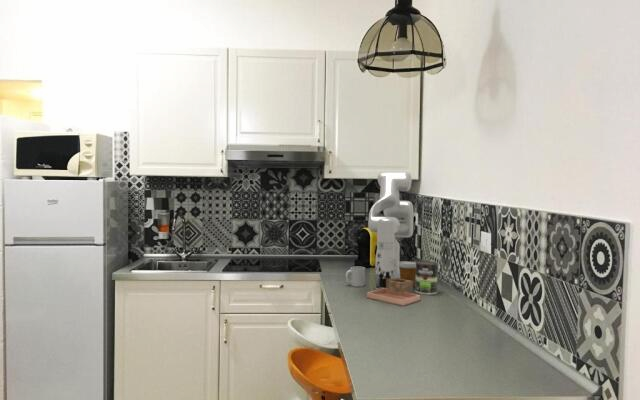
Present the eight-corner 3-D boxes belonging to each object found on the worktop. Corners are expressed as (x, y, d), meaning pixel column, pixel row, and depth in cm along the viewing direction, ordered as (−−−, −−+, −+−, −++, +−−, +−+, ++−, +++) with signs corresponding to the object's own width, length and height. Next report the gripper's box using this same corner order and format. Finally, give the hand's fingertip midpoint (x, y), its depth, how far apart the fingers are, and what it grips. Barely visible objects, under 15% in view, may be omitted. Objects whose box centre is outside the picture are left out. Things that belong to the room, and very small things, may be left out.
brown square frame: (412, 290, 204) (412, 280, 204) (402, 292, 198) (402, 283, 198) (386, 285, 214) (386, 276, 214) (375, 287, 208) (375, 278, 208)
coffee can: (436, 295, 215) (436, 265, 214) (413, 293, 218) (414, 263, 218) (438, 290, 224) (439, 261, 224) (416, 288, 228) (417, 260, 227)
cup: (366, 286, 232) (366, 268, 232) (347, 287, 230) (347, 269, 230) (362, 283, 239) (362, 266, 239) (343, 284, 237) (343, 266, 237)
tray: (384, 293, 218) (384, 287, 218) (420, 300, 205) (420, 294, 205) (366, 298, 209) (366, 292, 208) (403, 306, 195) (403, 300, 195)
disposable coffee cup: (420, 286, 234) (421, 262, 233) (410, 289, 226) (411, 264, 226) (404, 283, 240) (404, 260, 239) (394, 286, 233) (394, 262, 232)
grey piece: (377, 287, 230) (377, 270, 230) (384, 288, 227) (384, 271, 227) (372, 288, 227) (372, 271, 227) (379, 290, 224) (379, 272, 224)
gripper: (381, 248, 200) (381, 290, 201) (402, 245, 212) (402, 285, 213) (367, 246, 206) (367, 288, 206) (389, 243, 217) (388, 282, 218)
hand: (385, 286), depth 209 cm, fingers closed on brown square frame, 3 cm apart
